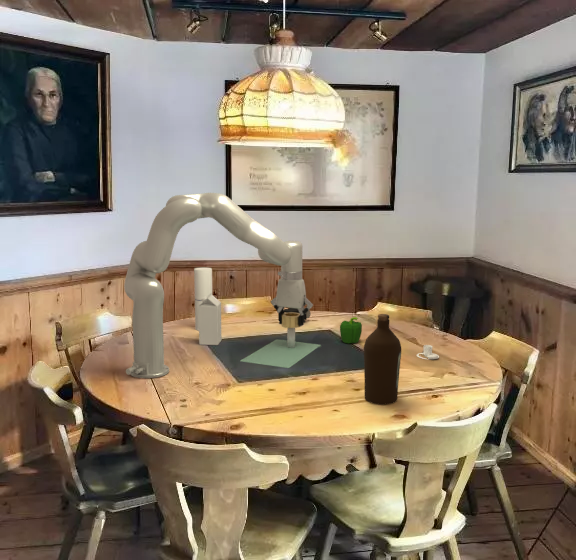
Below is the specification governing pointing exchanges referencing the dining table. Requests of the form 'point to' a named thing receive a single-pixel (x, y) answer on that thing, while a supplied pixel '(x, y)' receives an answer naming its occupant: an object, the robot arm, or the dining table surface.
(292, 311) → the figurine character
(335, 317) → the dining table surface
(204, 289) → the cylindrical container
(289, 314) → the brass ring
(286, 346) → the post board
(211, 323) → the milk carton
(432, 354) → the white charger with cable
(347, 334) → the bell pepper
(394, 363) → the olive oil
